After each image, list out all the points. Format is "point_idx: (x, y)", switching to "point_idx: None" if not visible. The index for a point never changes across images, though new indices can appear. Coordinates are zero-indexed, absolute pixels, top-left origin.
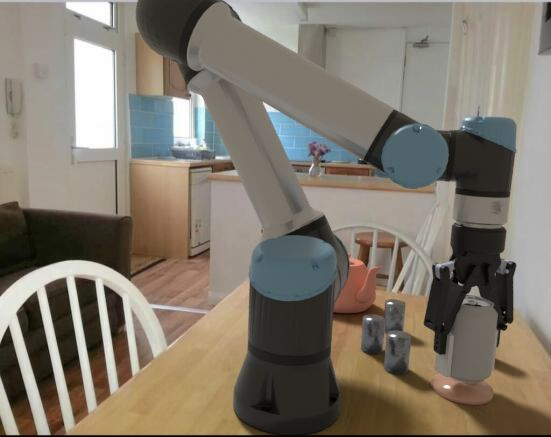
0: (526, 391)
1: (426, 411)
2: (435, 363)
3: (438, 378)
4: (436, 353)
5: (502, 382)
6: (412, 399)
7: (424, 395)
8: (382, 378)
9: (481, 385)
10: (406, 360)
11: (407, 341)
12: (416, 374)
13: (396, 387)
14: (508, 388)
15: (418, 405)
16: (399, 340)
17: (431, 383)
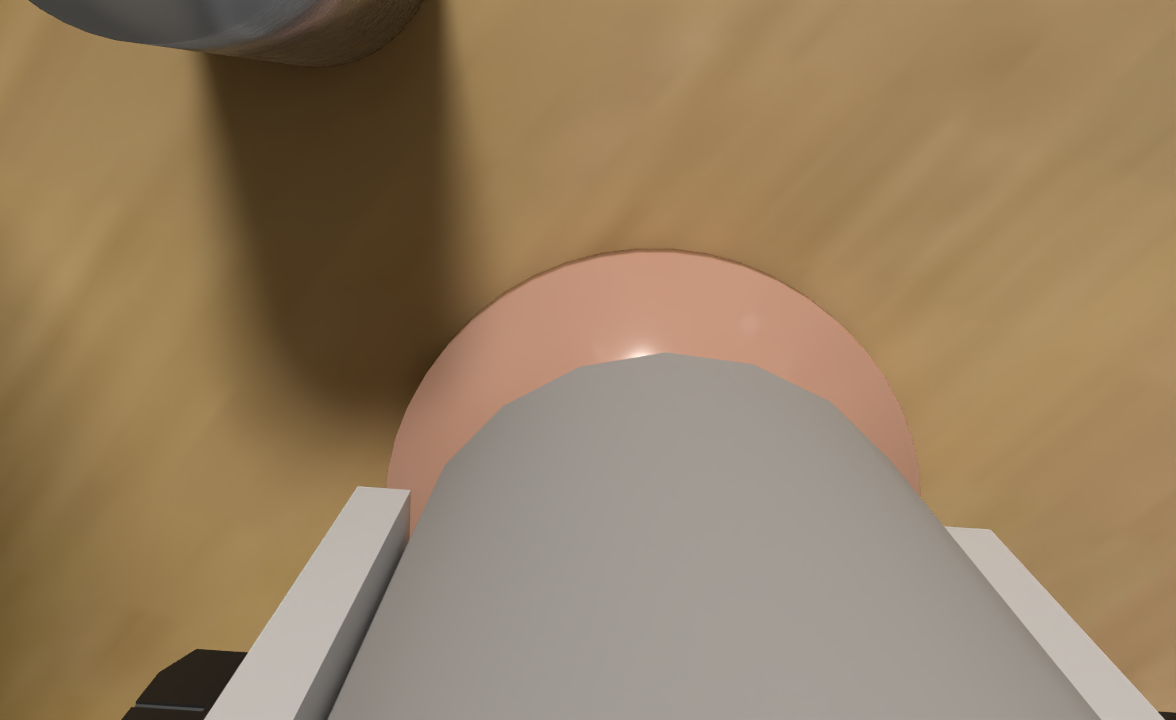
0: (1171, 692)
1: (134, 660)
2: (336, 520)
3: (528, 348)
4: (304, 572)
5: (1127, 514)
6: (127, 487)
7: (268, 468)
8: (55, 73)
9: None
10: (299, 57)
11: (192, 44)
12: (448, 114)
13: (100, 272)
14: (1074, 609)
15: (122, 575)
16: (46, 11)
17: (449, 342)
